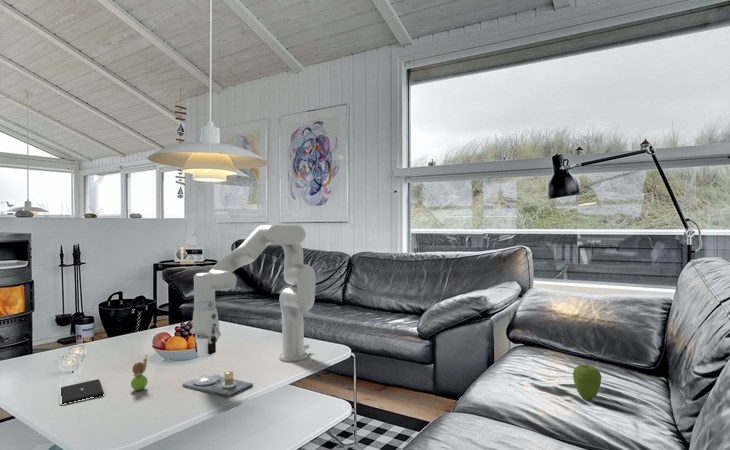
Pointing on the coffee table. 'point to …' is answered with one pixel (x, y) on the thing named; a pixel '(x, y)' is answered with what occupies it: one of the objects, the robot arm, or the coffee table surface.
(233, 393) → the flange plate
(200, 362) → the coffee table surface
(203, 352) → the shot glass
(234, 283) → the robot arm
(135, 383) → the snail figurine
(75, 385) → the laptop
